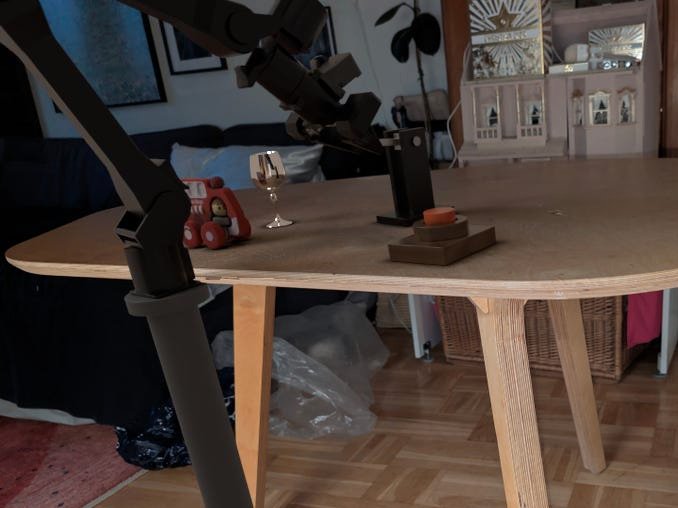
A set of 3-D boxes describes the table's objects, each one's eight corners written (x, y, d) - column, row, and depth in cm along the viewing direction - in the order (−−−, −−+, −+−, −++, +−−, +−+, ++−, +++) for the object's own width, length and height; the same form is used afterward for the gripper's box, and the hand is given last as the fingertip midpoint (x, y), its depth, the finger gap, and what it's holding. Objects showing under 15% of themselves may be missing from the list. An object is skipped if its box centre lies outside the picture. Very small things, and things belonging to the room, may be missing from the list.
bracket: (406, 226, 108) (392, 133, 103) (376, 222, 114) (362, 134, 108) (455, 213, 114) (444, 124, 109) (424, 210, 120) (413, 125, 114)
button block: (445, 265, 84) (441, 232, 83) (390, 260, 89) (385, 229, 88) (496, 242, 92) (493, 212, 91) (442, 239, 97) (439, 210, 96)
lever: (368, 152, 102) (367, 135, 102) (350, 152, 106) (348, 135, 105) (422, 149, 109) (421, 132, 108) (403, 149, 112) (402, 133, 111)
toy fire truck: (229, 250, 106) (211, 180, 102) (176, 247, 112) (158, 181, 108) (263, 239, 111) (248, 172, 107) (211, 237, 117) (195, 173, 113)
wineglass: (255, 228, 120) (238, 156, 116) (276, 220, 125) (261, 151, 121) (282, 228, 118) (266, 154, 114) (302, 220, 123) (288, 149, 118)
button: (443, 228, 87) (441, 214, 86) (418, 227, 89) (416, 213, 88) (462, 221, 90) (460, 207, 89) (438, 220, 92) (436, 206, 91)
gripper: (355, 25, 89) (434, 104, 100) (285, 40, 102) (362, 109, 113) (315, 98, 88) (400, 171, 99) (249, 104, 101) (330, 168, 112)
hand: (372, 152), depth 106 cm, fingers closed on lever, 5 cm apart
